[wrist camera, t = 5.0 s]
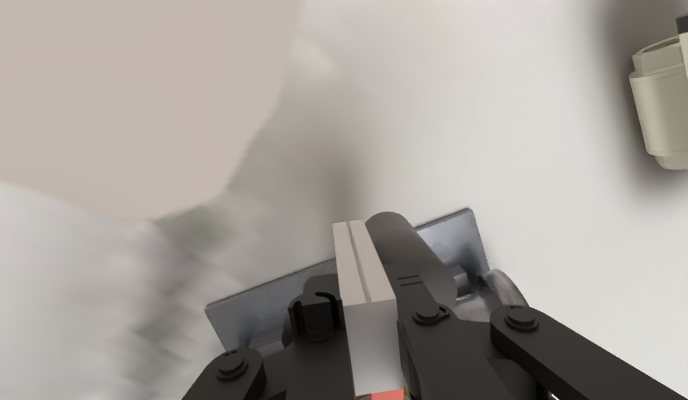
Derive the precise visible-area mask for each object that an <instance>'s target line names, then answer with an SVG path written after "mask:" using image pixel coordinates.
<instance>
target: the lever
mask: <svg viewBox="0 0 688 400" xmlns="http://www.w3.org/2000/svg"><path fill="white" fill-rule="evenodd" d="M365 226H366V228H367V231H368V233H369V235H370V238H371V240H372V243H373V245H374V247H375V250H376V252H377V254H378V257H379V259H380V261H381V264H382V265H387V264H394V263H401V262H406V263H407V264H409V265H411V266H413V267H414V268H415V269H416V271H417V273H418V274H419V277H421V279H422V280H423V283H424V284H425V285H426V287H427V288H428V290H429V291H430V293H431V295H432V296H433V298H434V299H435V301H436V303H441V304H443V305H445V306H447V307H449V308H450V309H451V310H452V309H453V307H454V305H455V302H456V299H457V284H456V281H455V279H454V277H453V275H452V273H451V272H450V271H449V270H448V268H447V267H446V266H445V265H444V264H443V262H442V261H441V260H440V259H439V258H438V257H437V255H436V254H435V253H434V252H433V251H432V249H431V248H430V247H429V246H428V245H427V243H426V242H425V241H424V240H423V239H422V237H421V236H420V235H419V234H418V233H417V231H416V230H415V229H414V228H413V227H412V225H411V224H410V223H409V222H408V221H407V220H406V219H405V218H404V217H403V216H401V215H400V214H398V213H394V212H382V213H378V214H376V215H374V216H372V217H371V218H370V219H369V220H368V221H367V222H366V223H365ZM360 400H409V398H408V397H407V396H405V395H404V388H403V389H397V390H391V391H385V392H378V393H372V394H368V395H366V396H364V397H363V398H361V399H360Z"/></svg>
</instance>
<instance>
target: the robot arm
mask: <svg viewBox="0 0 688 400" xmlns="http://www.w3.org/2000/svg"><path fill="white" fill-rule="evenodd" d="M332 228H333V237H334V245H335V254H336V263H337V271H338V273H333V274H327V275H320V276H313V277H310V278H309V279H308V280H307V282H306V283H305V284H304V288H303V294H301V295H299V296H297V297H296V298H295V299H293V300H292V301H291V302H290V304H289V306H288V313H289V318H290V323H291V328H292V334H293V342H292V343H291V344H290V345H289V346H287V347H286V348H284V349H283V350H281V351H279V352H277V353H274V354H272V355H269V356H267V357H264V358H262V357H261V353H260V352H258V351H257V350H256V349H253V348H248V347H243V348H235V349H233V350H230V351H227V352H225V353H223V354H221V355H220V356H218V357H216V358H215V359H214V360H213V361H212V362H211V363H210V364H209V365H208V366H207V367H206V368H205V369H204V371H203V372H202V373H201V374H200V376H199V377H198V378H197V380H196V381H195V382H194V384H193V385H192V386H191V388H190V389H189V390H188V392H187V393H186V394H185V396H184V397H183V398H182V400H356V396H359V395H365V394H372V393H378V392H385V391H391V390H397V389H403V388H405V385H404V378H405V381H406V384H407V387H408V391H409V400H556V399H555V398H553V397H552V396H551V395H552V394H553V395H555V396H556V397H557V398H558V399H559V400H688V399H686V398H685V397H683V396H681V395H680V394H678V393H676V392H675V391H673V390H671V389H670V388H668V387H666V386H665V385H663V384H661V383H660V382H658V381H656V380H655V379H653V378H651V377H650V376H648V375H646V374H645V373H643V372H641V371H640V370H638V369H636V368H635V367H633V366H631V365H630V364H628V363H626V362H625V361H623V360H621V359H620V358H618V357H616V356H615V355H613V354H611V353H610V352H608V351H606V350H605V349H603V348H601V347H600V346H598V345H596V344H595V343H593V342H591V341H590V340H588V339H586V338H585V337H583V336H581V335H580V334H578V333H576V332H575V331H573V330H571V329H570V328H568V327H566V326H565V325H563V324H561V323H560V322H558V321H556V320H555V319H553V318H551V317H550V316H548V315H546V314H545V313H543V312H541V311H538V310H536V309H534V308H531V307H527V306H523V305H504V306H499V307H497V308H496V309H494V310H492V312H491V314H490V322H479V321H467V320H461V319H458V318H457V316H456V315H455V313H454V312H453V311H452V310H451V309H450V308H449V307H447V306H445V305H443V304H441V303H436V301H435V299H434V298H433V296H432V295H431V293H430V291H429V290H428V288H427V287H426V285H425V284H424V283H423V280H422V279H421V277H419V274H418V273H417V271H416V269H415V268H414V267H413V266H411V265H409V264H407V263H406V262H401V263H394V264H387V265H382V264H381V261H380V259H379V257H378V254H377V252H376V250H375V247H374V245H373V243H372V240H371V238H370V235H369V233H368V231H367V228H366V226H365V224H364V221H363V219H360V220H353V221H345V222H338V223H332Z"/></svg>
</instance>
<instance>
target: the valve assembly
mask: <svg viewBox="0 0 688 400" xmlns="http://www.w3.org/2000/svg"><path fill="white" fill-rule="evenodd" d="M415 230H416V231H417V233H418V234H419V235H420V236H421V237H422V239H423V240H424V241H425V242H426V243H427V245H428V246H429V247H430V248H431V249H432V251H433V252H434V253H435V254H436V255H437V257H438V258H439V259H440V260H441V261H442V262H443V264H444V265H445V266H446V267H447V268H448V270H449V271H450V272H451V273H452V275H453V277H454V279H455V281H456V284H457V299H456V302H455V305H454V307H453V309H452V311H453V312H454V313H455V315H456V316H457V318H458V319H461V320H467V321H479V322H490V314H491V312H492V310H494V309H496V308H497V307H499V306H504V305H523V306H527V307H529V305H528V303H527V302H526V300H525V298H524V297H523V295H522V294H521V292H520V291H519V289H518V288H517V287H516V285H515V284H514V283H513V282H512V280H511V279H510V278H509V277H508V276H507V275H506V274H505V273H503V272H502V271H500V270H498V269H494V270H491V271H490V270H489V266H488V263H487V259H486V256H485V252H484V249H483V245H482V241H481V238H480V234H479V231H478V227H477V224H476V220H475V217H474V213H473V211H472V210H471V209H469V208H468V209H466V210H463V211H460V212H457V213H455V214H452V215H449V216H447V217H444V218H441V219H439V220H436V221H433V222H431V223H428V224H425V225H423V226H420V227H417V228H415ZM333 273H338V271H337V263H336V258H334V259H331V260H329V261H326V262H323V263H321V264H318V265H315V266H312V267H310V268H307V269H304V270H302V271H299V272H296V273H294V274H291V275H288V276H286V277H283V278H280V279H278V280H275V281H272V282H270V283H267V284H264V285H261V286H259V287H256V288H253V289H251V290H248V291H245V292H243V293H240V294H237V295H235V296H232V297H229V298H227V299H224V300H221V301H219V302H216V303H213V304H210V305H208V306H207V307H206V309H205V310H204V311H205V313H206V315H207V317H208V319H209V320H210V322H211V324H212V326H213V328H214V329H215V331H216V333H217V335H218V337H219V339H220V340H221V342H222V344H223V346H224V348H225V350H226V351H230V350H233V349H235V348H243V347H248V348H253V349H256V350H257V351H258V352H260V353H261V357H262V358H264V357H267V356H269V355H272V354H274V353H277V352H279V351H281V350H283V349H284V348H286V347H287V346H289V345H290V344H291V343H292V342H293V334H292V328H291V323H290V318H289V313H288V306H289V304H290V302H291V301H292V300H293V299H295V298H296V297H297V296H299V295H301V294H303V288H304V284H305V283H306V282H307V280H308V279H309V278H310V277H313V276H320V275H327V274H333ZM404 385H405V388H404V395H405V396H407V397H408V398H409V391H408V387H407V384H406V381H405V378H404ZM366 395H368V394H365V395H359V396H356V400H360V399H361V398H363V397H364V396H366Z"/></svg>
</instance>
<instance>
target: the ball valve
mask: <svg viewBox="0 0 688 400" xmlns="http://www.w3.org/2000/svg"><path fill="white" fill-rule="evenodd" d="M676 23H677V28H678V33H679V35H676V36H673V37H670V38H667V39H665V40H662V41H659V42H657V43H654V44H652V45H649V46H647V47H645V48H643V49H641V50H639V51H638V52H636V53H635V54H634V55H633V56H632V60H633V64H634V68H635V71H634V72H632V73H631V74H630V75H629V80H630V84H631V88H632V92H633V97H634V101H635V105H636V109H637V113H638V117H639V121H640V125H641V130H642V134H643V138H644V142H645V146H646V150H647V152H648V153H649V154H651V155H655V157H656V161H657V162H658V163H659V164H660V166H662V167H663V168H665V169H672V170H684V169H688V12H687V13H685V14H683V15H681V16H679V17H677V18H676Z"/></svg>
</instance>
